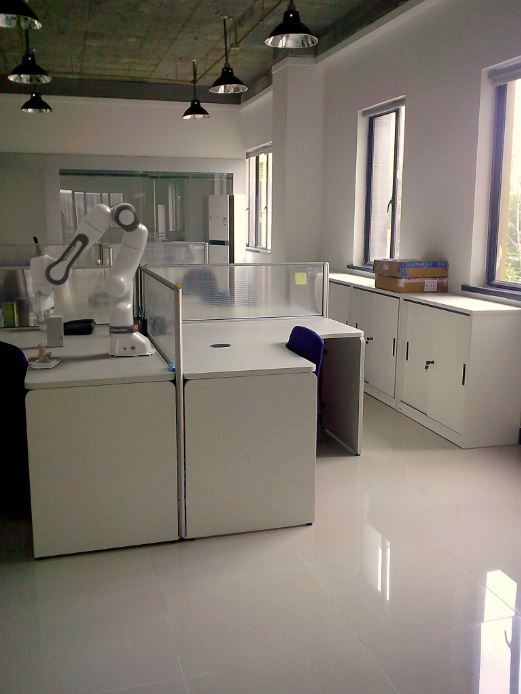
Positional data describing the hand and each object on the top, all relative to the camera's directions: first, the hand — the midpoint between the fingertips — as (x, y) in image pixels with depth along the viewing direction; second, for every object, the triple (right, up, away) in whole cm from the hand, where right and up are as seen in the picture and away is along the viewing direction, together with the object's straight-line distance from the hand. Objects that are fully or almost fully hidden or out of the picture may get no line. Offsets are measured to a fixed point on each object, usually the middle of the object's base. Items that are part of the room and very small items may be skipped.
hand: (45, 319), depth 314 cm
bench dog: (-3, -20, -5) cm, 21 cm away
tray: (+4, -22, -12) cm, 25 cm away
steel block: (-2, -18, +7) cm, 20 cm away
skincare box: (-5, -13, +35) cm, 38 cm away
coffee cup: (-27, -3, +87) cm, 91 cm away
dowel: (+4, -21, -12) cm, 25 cm away
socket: (+5, -20, -4) cm, 21 cm away
